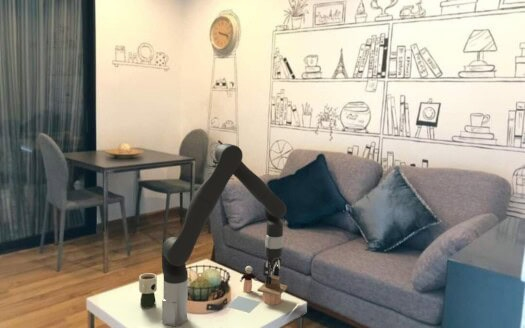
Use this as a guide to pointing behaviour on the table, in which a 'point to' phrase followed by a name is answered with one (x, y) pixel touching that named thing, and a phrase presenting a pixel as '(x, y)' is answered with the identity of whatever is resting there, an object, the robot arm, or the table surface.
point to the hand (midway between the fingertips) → (272, 280)
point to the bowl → (271, 299)
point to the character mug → (147, 289)
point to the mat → (243, 304)
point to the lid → (273, 286)
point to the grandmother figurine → (248, 279)
